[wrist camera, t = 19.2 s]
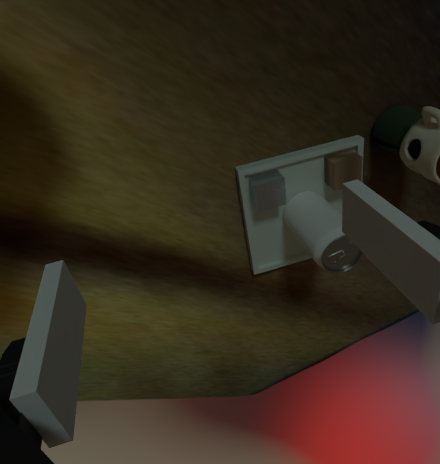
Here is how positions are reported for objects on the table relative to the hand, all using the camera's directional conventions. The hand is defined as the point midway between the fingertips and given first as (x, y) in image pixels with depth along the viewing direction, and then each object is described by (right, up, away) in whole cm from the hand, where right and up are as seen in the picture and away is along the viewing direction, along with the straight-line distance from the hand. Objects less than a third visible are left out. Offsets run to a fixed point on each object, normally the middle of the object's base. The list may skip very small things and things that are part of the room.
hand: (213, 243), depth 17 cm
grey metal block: (+6, +7, +35) cm, 36 cm away
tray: (+12, +4, +39) cm, 41 cm away
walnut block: (+17, +10, +36) cm, 41 cm away
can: (+13, +4, +38) cm, 41 cm away
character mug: (+24, +16, +36) cm, 46 cm away
